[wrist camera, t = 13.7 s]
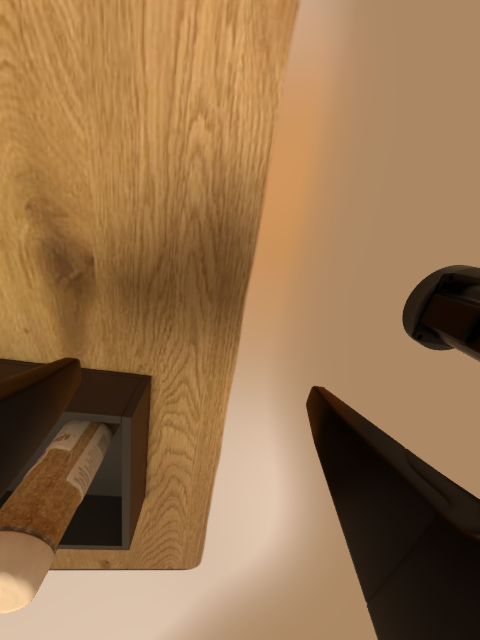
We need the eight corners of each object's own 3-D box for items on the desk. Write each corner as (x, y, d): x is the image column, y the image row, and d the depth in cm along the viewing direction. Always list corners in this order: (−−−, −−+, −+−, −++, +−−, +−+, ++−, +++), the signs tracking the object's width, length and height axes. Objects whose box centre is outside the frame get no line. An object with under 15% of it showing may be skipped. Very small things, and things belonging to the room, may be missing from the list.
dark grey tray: (151, 375, 24) (131, 417, 19) (145, 496, 31) (129, 550, 26) (-93, 348, 21) (-195, 388, 16) (-38, 487, 28) (-96, 545, 23)
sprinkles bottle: (86, 385, 23) (-71, 572, 11) (132, 398, 24) (36, 583, 12) (78, 418, 25) (-69, 615, 12) (122, 429, 26) (26, 622, 13)
